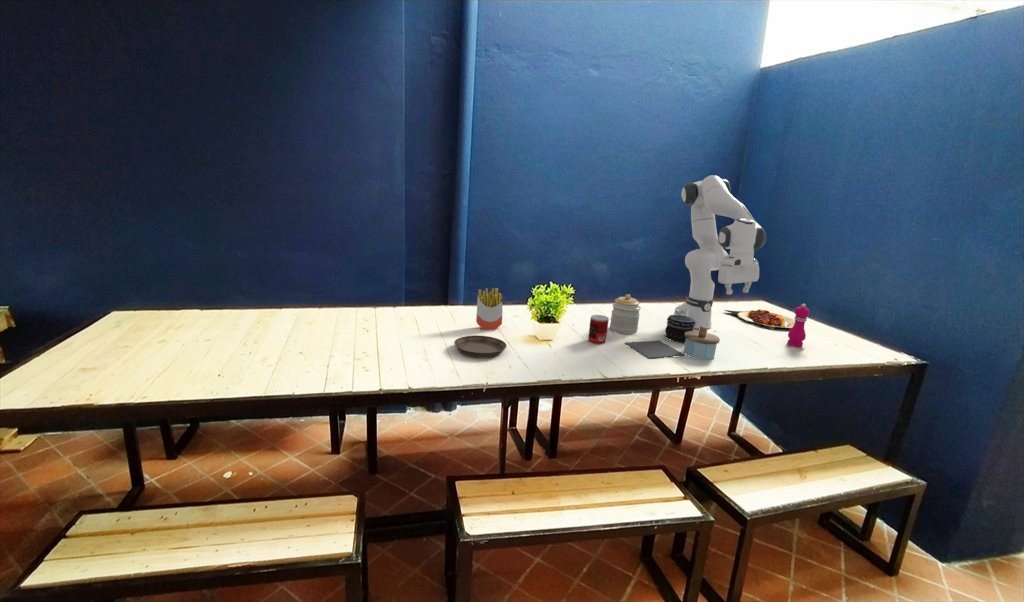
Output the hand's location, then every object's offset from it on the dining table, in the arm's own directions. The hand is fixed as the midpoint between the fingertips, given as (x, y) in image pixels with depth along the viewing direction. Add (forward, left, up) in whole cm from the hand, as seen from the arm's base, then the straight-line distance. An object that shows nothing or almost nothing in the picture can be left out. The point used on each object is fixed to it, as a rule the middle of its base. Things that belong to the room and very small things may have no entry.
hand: (737, 293), depth 211 cm
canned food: (-28, -46, -28) cm, 61 cm away
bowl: (-6, -9, -28) cm, 30 cm away
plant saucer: (-26, -100, -28) cm, 107 cm away
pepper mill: (-8, +48, -28) cm, 56 cm away
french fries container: (-52, -88, -28) cm, 106 cm away
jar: (-40, -25, -28) cm, 55 cm away
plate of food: (-42, +64, -29) cm, 81 cm away
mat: (-14, -26, -28) cm, 40 cm away
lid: (-6, -9, -21) cm, 23 cm away
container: (-25, -5, -28) cm, 38 cm away
